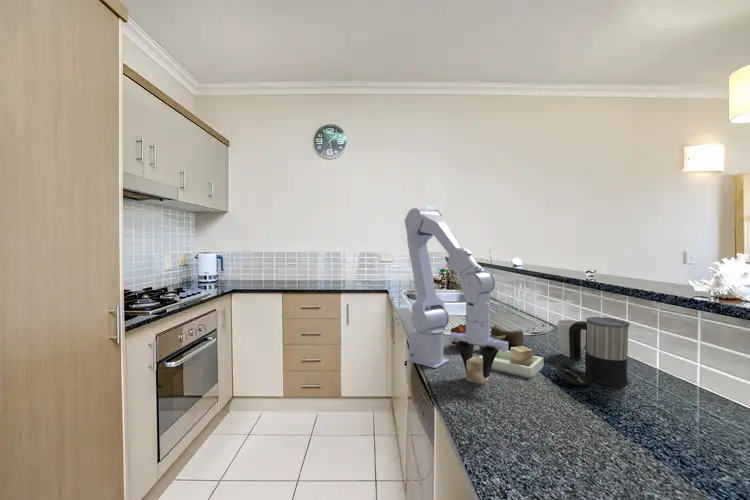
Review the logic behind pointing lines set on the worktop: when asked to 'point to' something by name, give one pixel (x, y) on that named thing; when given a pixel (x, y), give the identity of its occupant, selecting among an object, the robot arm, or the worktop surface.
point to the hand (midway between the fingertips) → (477, 374)
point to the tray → (516, 365)
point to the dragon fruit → (458, 329)
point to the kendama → (507, 336)
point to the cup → (564, 336)
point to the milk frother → (598, 352)
